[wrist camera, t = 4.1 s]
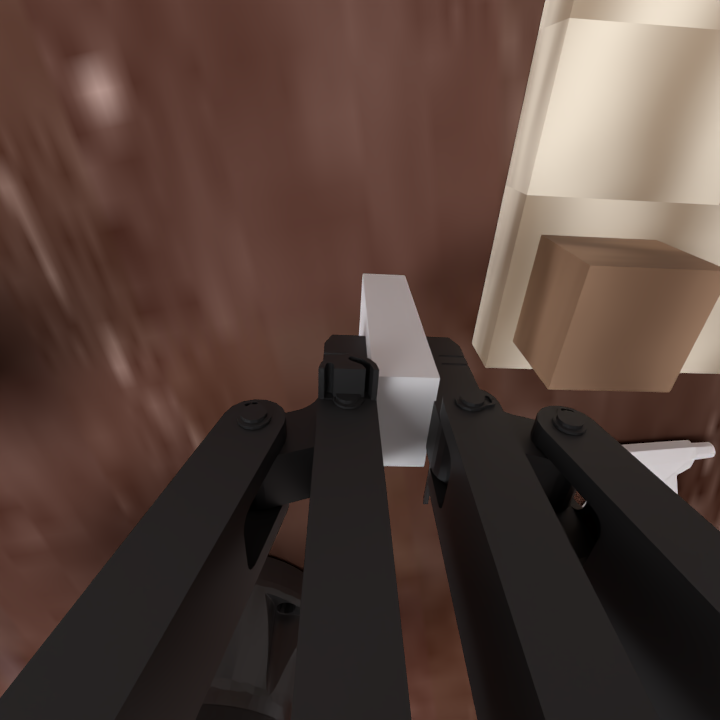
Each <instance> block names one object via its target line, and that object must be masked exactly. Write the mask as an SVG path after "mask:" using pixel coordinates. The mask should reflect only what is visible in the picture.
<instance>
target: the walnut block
mask: <svg viewBox="0 0 720 720" xmlns="http://www.w3.org/2000/svg"><path fill="white" fill-rule="evenodd" d="M719 296H720V266H718V265H715V264H713V263H711V262H708V261H706V260H703V259H701V258H699V257H696V256H694V255H691V254H689V253H687V252H684V251H682V250H679V249H677V248H675V247H672V246H670V245H667V244H665V243H663V242H660V241H658V240H646V239H624V238H603V237H581V236H560V235H541V238H540V241H539V245H538V249H537V253H536V256H535V260H534V264H533V267H532V271H531V275H530V279H529V282H528V286H527V290H526V293H525V297H524V301H523V305H522V308H521V312H520V316H519V319H518V323H517V327H516V331H515V334H514V338H513V343H514V344H515V345H516V347H517V348H518V349H519V351H520V352H521V353H522V355H523V356H524V357H525V359H526V360H527V361H528V363H529V364H530V366H531V367H532V368H533V370H534V371H535V372H536V374H537V375H538V376H539V378H540V379H541V380H542V382H543V383H544V384H545V386H546V387H547V389H550V390H593V391H636V392H670V390H671V388H672V387H673V385H674V383H675V381H676V379H677V377H678V375H679V373H680V371H681V369H682V367H683V365H684V363H685V361H686V360H687V358H688V356H689V354H690V352H691V350H692V348H693V346H694V344H695V342H696V340H697V338H698V336H699V334H700V332H701V331H702V329H703V327H704V325H705V323H706V321H707V319H708V317H709V315H710V313H711V311H712V309H713V307H714V305H715V303H716V302H717V300H718V298H719Z"/></svg>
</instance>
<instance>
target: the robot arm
mask: <svg viewBox="0 0 720 720" xmlns="http://www.w3.org/2000/svg"><path fill="white" fill-rule="evenodd" d="M426 452H427V455H428V459H429V463H430V466H429V471H428V477H427V482H426V487H425V492H424V499H423V504H428V500H429V496H430V497H431V502H432V507H433V512H434V516H435V521H436V526H437V530H438V535H439V540H440V545H441V549H442V554H443V559H444V564H445V568H446V573H447V578H448V582H449V587H450V592H451V597H452V601H453V606H454V611H455V615H456V620H457V625H458V630H459V634H460V639H461V644H462V648H463V653H464V658H465V663H466V667H467V672H468V677H469V681H470V686H471V691H472V696H473V700H474V705H475V710H476V715H477V719H478V720H720V531H719V530H717V529H716V528H715V527H714V526H713V525H712V524H711V523H709V522H708V521H707V520H706V519H705V518H704V517H703V516H701V515H700V514H699V513H698V512H697V511H696V510H695V509H694V508H692V507H691V506H690V505H689V504H688V503H687V502H686V501H684V500H683V499H682V498H681V497H680V496H679V495H678V494H677V493H675V492H674V491H673V490H672V489H671V488H670V487H669V486H667V485H666V484H665V483H664V482H663V481H662V480H661V479H659V478H658V477H657V476H656V475H655V474H654V473H653V472H652V471H650V470H649V469H648V468H647V467H646V466H645V465H644V464H642V463H641V462H640V461H639V460H638V459H637V458H636V457H635V456H633V455H632V454H631V453H630V452H629V451H628V450H627V449H625V448H624V447H623V446H622V445H621V444H620V443H619V442H618V441H616V440H615V439H614V438H613V437H612V436H611V435H610V434H608V433H607V432H606V431H605V430H604V429H603V428H602V427H600V426H599V425H598V424H597V423H596V422H595V421H594V420H592V419H591V418H589V417H588V416H586V415H585V414H583V413H581V412H579V411H576V410H574V409H572V408H568V407H562V406H548V407H545V408H542V409H541V410H540V411H539V412H538V413H537V416H536V419H535V420H533V419H529V418H525V417H520V416H516V415H512V414H509V413H506V412H504V411H503V409H502V407H501V405H500V403H499V402H498V401H497V400H496V398H495V397H494V396H492V395H491V394H489V393H487V392H486V391H483V390H480V389H479V387H478V385H477V383H476V381H475V379H474V376H473V374H472V372H471V370H470V368H469V366H467V361H466V359H465V358H464V355H463V353H462V351H461V349H460V346H458V345H457V344H456V343H455V342H454V341H452V340H451V339H450V338H444V337H426V336H425V333H424V330H423V327H422V324H421V321H420V318H419V315H418V312H417V309H416V306H415V304H414V301H413V298H412V295H411V292H410V289H409V286H408V283H407V280H406V277H405V275H384V274H363V278H362V294H361V311H360V327H359V336H353V335H332V336H331V337H330V338H329V339H328V340H327V341H326V342H325V346H324V358H323V361H322V362H321V364H320V366H319V386H318V399H317V400H316V401H315V402H314V403H313V404H311V405H310V406H308V407H306V408H303V409H300V410H297V411H292V412H287V413H285V412H284V410H283V408H282V407H280V406H279V405H278V404H277V403H274V402H271V401H268V400H256V399H255V400H249V401H243V402H241V403H239V404H236V405H234V406H232V407H231V408H230V409H229V410H228V411H226V412H225V413H224V415H223V416H222V417H221V418H220V420H219V421H218V422H217V424H216V425H215V426H214V427H213V429H212V430H211V431H210V432H209V434H208V435H207V436H206V437H205V439H204V440H203V441H202V443H201V444H200V445H199V446H198V448H197V449H196V450H195V451H194V453H193V454H192V455H191V457H190V458H189V459H188V460H187V462H186V463H185V464H184V465H183V467H182V468H181V469H180V471H179V472H178V473H177V474H176V476H175V477H174V478H173V479H172V481H171V482H170V483H169V484H168V486H167V487H166V488H165V490H164V491H163V492H162V493H161V495H160V496H159V497H158V498H157V500H156V501H155V502H154V504H153V505H152V506H151V507H150V509H149V510H148V511H147V512H146V514H145V515H144V516H143V517H142V519H141V520H140V521H139V523H138V524H137V525H136V526H135V528H134V529H133V530H132V531H131V533H130V534H129V535H128V537H127V538H126V539H125V540H124V542H123V543H122V544H121V545H120V547H119V548H118V549H117V551H116V552H115V553H114V554H113V556H112V557H111V558H110V559H109V561H108V562H107V563H106V564H105V566H104V567H103V568H102V570H101V571H100V572H99V573H98V575H97V576H96V577H95V578H94V580H93V581H92V582H91V584H90V585H89V586H88V587H87V589H86V590H85V591H84V592H83V594H82V595H81V596H80V598H79V599H78V600H77V601H76V603H75V604H74V605H73V606H72V608H71V609H70V610H69V611H68V613H67V614H66V615H65V617H64V618H63V619H62V620H61V622H60V623H59V624H58V625H57V627H56V628H55V629H54V631H53V632H52V633H51V634H50V636H49V637H48V638H47V639H46V641H45V642H44V643H43V644H42V646H41V647H40V648H39V650H38V651H37V652H36V653H35V655H34V656H33V657H32V658H31V660H30V661H29V662H28V664H27V665H26V666H25V667H24V669H23V670H22V671H21V672H20V674H19V675H18V676H17V678H16V679H15V680H14V681H13V683H12V684H11V685H10V686H9V688H8V689H7V690H6V691H5V693H4V694H3V695H2V697H1V698H0V720H411V711H410V702H409V693H408V684H407V675H406V666H405V656H404V647H403V638H402V629H401V620H400V611H399V601H398V592H397V583H396V574H395V565H394V556H393V547H392V537H391V528H390V519H389V510H388V501H387V492H386V482H385V473H384V466H412V467H424V463H425V458H426ZM576 491H578V493H579V494H580V495H581V496H582V497H583V498H584V499H585V500H586V501H587V502H586V504H585V506H584V507H582V506H580V505H579V504H578V503H577V502H576V501H575V500H574V498H573V497H574V495H575V493H576ZM306 498H310V503H309V514H308V526H307V538H306V549H305V561H304V573H303V572H302V571H300V570H299V569H297V568H295V567H293V566H291V565H289V564H287V563H285V562H282V561H280V560H277V559H274V558H271V557H267V556H268V554H269V551H270V549H271V547H272V544H273V542H274V540H275V538H276V535H277V533H278V531H279V529H280V526H281V524H282V522H283V519H284V517H285V515H286V513H287V510H288V507H289V503H291V502H295V501H299V500H302V499H306Z"/></svg>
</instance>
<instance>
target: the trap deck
mask: <svg viewBox="0 0 720 720" xmlns="http://www.w3.org/2000/svg"><path fill="white" fill-rule="evenodd" d="M541 235H560V236H581V237H603V238H624V239H646V240H658V241H660V242H663V243H665V244H667V245H670V246H672V247H675V248H677V249H679V250H682V251H684V252H687V253H689V254H691V255H694V256H696V257H699V258H701V259H703V260H706V261H708V262H711V263H713V264H715V265H718V266H720V0H545V4H544V9H543V14H542V18H541V23H540V28H539V32H538V37H537V42H536V46H535V51H534V56H533V60H532V65H531V70H530V74H529V79H528V84H527V88H526V93H525V98H524V102H523V107H522V112H521V116H520V121H519V126H518V130H517V135H516V140H515V144H514V149H513V154H512V158H511V163H510V168H509V172H508V177H507V182H506V186H505V191H504V196H503V200H502V205H501V210H500V214H499V219H498V224H497V228H496V233H495V238H494V242H493V247H492V252H491V256H490V261H489V266H488V270H487V275H486V280H485V284H484V289H483V294H482V298H481V303H480V308H479V312H478V317H477V322H476V326H475V331H474V336H473V340H472V345H473V346H474V348H475V350H476V352H477V354H478V355H479V357H480V359H481V361H482V362H483V364H484V366H485V368H515V369H533V368H532V367H531V366H530V364H529V363H528V361H527V360H526V359H525V357H524V356H523V355H522V353H521V352H520V351H519V349H518V348H517V347H516V345H515V344H514V343H513V338H514V334H515V331H516V327H517V323H518V319H519V316H520V312H521V308H522V305H523V301H524V297H525V293H526V290H527V286H528V282H529V279H530V275H531V271H532V267H533V264H534V260H535V256H536V253H537V249H538V245H539V241H540V238H541ZM680 373H707V374H720V296H719V298H718V300H717V302H716V303H715V305H714V307H713V309H712V311H711V313H710V315H709V317H708V319H707V321H706V323H705V325H704V327H703V329H702V331H701V332H700V334H699V336H698V338H697V340H696V342H695V344H694V346H693V348H692V350H691V352H690V354H689V356H688V358H687V360H686V361H685V363H684V365H683V367H682V369H681V371H680Z"/></svg>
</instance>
